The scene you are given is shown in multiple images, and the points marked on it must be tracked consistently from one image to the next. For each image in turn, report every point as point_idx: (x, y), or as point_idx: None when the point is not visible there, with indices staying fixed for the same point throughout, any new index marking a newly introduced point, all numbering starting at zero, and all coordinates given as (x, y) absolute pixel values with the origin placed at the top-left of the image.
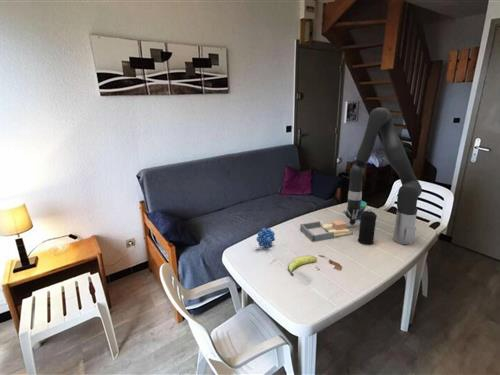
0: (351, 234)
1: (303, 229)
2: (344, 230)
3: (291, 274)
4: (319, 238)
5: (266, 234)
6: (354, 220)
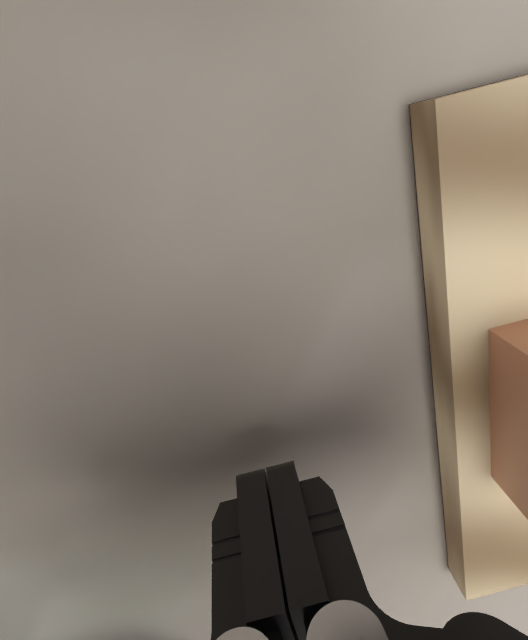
0: (445, 95)
1: None
2: None
3: None
4: None
5: None
6: (252, 579)
